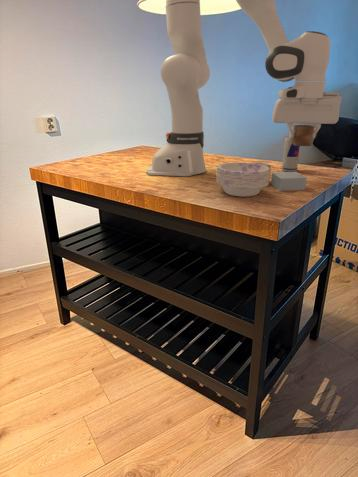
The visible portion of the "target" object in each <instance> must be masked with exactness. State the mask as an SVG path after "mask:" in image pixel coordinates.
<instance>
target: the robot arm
mask: <svg viewBox="0 0 358 477" xmlns="http://www.w3.org/2000/svg"><path fill="white" fill-rule="evenodd" d="M235 1H236V3H237V4H238V6H239V7H240V9H241V10H242V11H243V12H244V13H245V14H246V15H247V16H248V17H249V18H250V19H251V20H252V21H253V23H255V25H256V26H257V27H258V30H259V31H260V33H261V35H262V38H263V40H264V42H265V44H266V46H267V47H266V48H268V54H267V56H266V58H265V65H264V66H265V70H266V72H267V74H268V75H269V76H270V77H271V78H272V79H274V80H277V81H279V82H282V83H287V82H291V81H293V80H294V79H295V80H294V85H293V86H288V87H287V88H283V89H280V90H279V91H278V93H277V95H278V97H279V98H278V99H277V100H276V101H275V102H274V106H273V109H272V110H273V111H272V115H271V120H272V122H273V123H274V124H287V125H286V127H287V129H288V131H289V138H295V134H296V133H295V132H293V129H292V128H294V124H303V125H311V124H313V126H314V131H313V137H312V139H316V136H317V135H316V134H317V133H318V131H319V130H320V129H321V127H322V124H324V125H326V124H327V125H334V124H336V123H337V122H339V118H340V106H341V104H342V98H343V97H342V95H341V94H340V93H338V92H337V91H334V92H333V91H332V92H331V91H325V87H326V79H327V78H326V72H327V69H328V67H329V62H330V55H331V54H330V53H331V52H330V51H331V39H330V38H329V35H327V34H326V33H324V32H322V31H321V32H319V31H313V30H312V31H311V30H307V31H304V32H303V33H302V34H301V35H300V36H298V37H296V38H295V39H293V40H291V41H289V40H288V38H287V34H286V33H285V31H284V27H283V25H282V24H281V21H280V19H279V16H278V12H277V9H276V8H277V7H276V2H275V0H235ZM164 2H165V3H164V4H165V18H166V19H165V20H166V27H167V28H166V29H167V30H166V31H167V37H168V39H169V41H170V43H171V45H172V46H171V47H172V49H173V52H174V53H173V55H171V56H168V57H167V58H166V59H165V60H164V61H163V62H162V65H161V68H160V77H161V79H162V82H163V84H164V85H165V87H166V90H167V95H168V100H169V103H170V110H171V132H170V131H168V132H167V133H166V134H165V136H166V143H165V144H164V145H163V146H162V147H161V148H159V149H158V150H157V151H156V152H155V153H154V155H153V157H152V161H151V162H152V163H151V165H149V166H147V168H146V174H148V175H150V176H167V177H168V176H169V177H170V176H171V177H191V176H193V175H199V174H204V173H206V172H207V167H206V163H205V157H204V155H205V154H204V146H205V135H204V131H203V130H204V128H203V124H204V123H203V120H204V119H203V116H204V114H203V113H204V110H203V109H204V108H203V106H202V104H201V99H200V95H199V89H201V88H202V87H204V86H205V85H206V84H207V83H208V81H209V79H210V77H211V70H210V66H209V65H208V60H207V54H206V51H205V45H204V40H203V34H202V23H201V20H202V19H201V1H200V0H165V1H164Z"/></svg>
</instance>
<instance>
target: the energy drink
mask: <svg viewBox="0 0 358 477" xmlns="http://www.w3.org/2000/svg"><path fill="white" fill-rule="evenodd" d="M291 143H292V138H289V136H286V137H285V139H284V147H283V156H282V164H281V165H282V166H281V170H282V172H297V170H298V164H299V155H300V148H301V146H295V145H293V144H291Z"/></svg>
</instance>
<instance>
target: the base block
mask: <svg viewBox="0 0 358 477" xmlns="http://www.w3.org/2000/svg"><path fill="white" fill-rule="evenodd" d="M270 179H271V181H270V182H271V183H270V184H271V185H272V186H273V187H274V188H276V190H278V191H279V192H282V191H283V192H286V191H305V190H306V186H307V179H308V178H307V176H304V175H303V174H301V173H299V172H297V171H295V172H286V171H282V172H280V171H279V172H271V178H270Z"/></svg>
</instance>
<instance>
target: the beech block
mask: <svg viewBox="0 0 358 477" xmlns="http://www.w3.org/2000/svg"><path fill="white" fill-rule="evenodd" d="M253 163H254V164H261V165H265V166H267V167H269V169H270V170H269V172H270V173H269V182H268V184H270V182H271V181H270V179H271V166H272V165H271V164H269V163H267V162H264V161H262V162H259V161H258V162H253Z"/></svg>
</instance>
